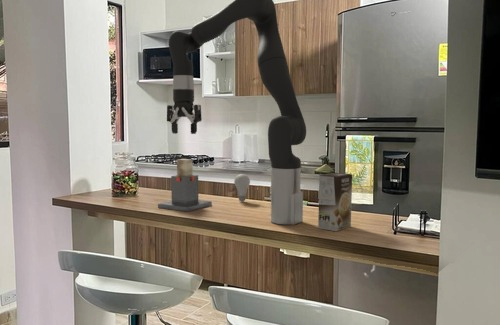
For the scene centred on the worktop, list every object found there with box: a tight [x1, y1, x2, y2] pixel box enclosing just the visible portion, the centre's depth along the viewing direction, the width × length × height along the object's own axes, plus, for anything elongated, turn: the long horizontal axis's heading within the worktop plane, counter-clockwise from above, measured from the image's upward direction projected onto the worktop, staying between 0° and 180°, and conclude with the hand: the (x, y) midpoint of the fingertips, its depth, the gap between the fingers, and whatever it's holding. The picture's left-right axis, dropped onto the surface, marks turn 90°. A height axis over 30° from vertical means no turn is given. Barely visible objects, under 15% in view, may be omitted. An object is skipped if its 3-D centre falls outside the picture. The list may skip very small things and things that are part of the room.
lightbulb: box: [233, 173, 251, 203], centre depth 176 cm, size 6×6×11 cm
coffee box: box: [317, 172, 353, 232], centre depth 134 cm, size 9×6×16 cm
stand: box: [157, 174, 213, 213], centre depth 167 cm, size 14×14×12 cm
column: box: [176, 158, 194, 177], centre depth 166 cm, size 4×4×16 cm
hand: (184, 133), depth 164 cm, fingers open, 8 cm apart
